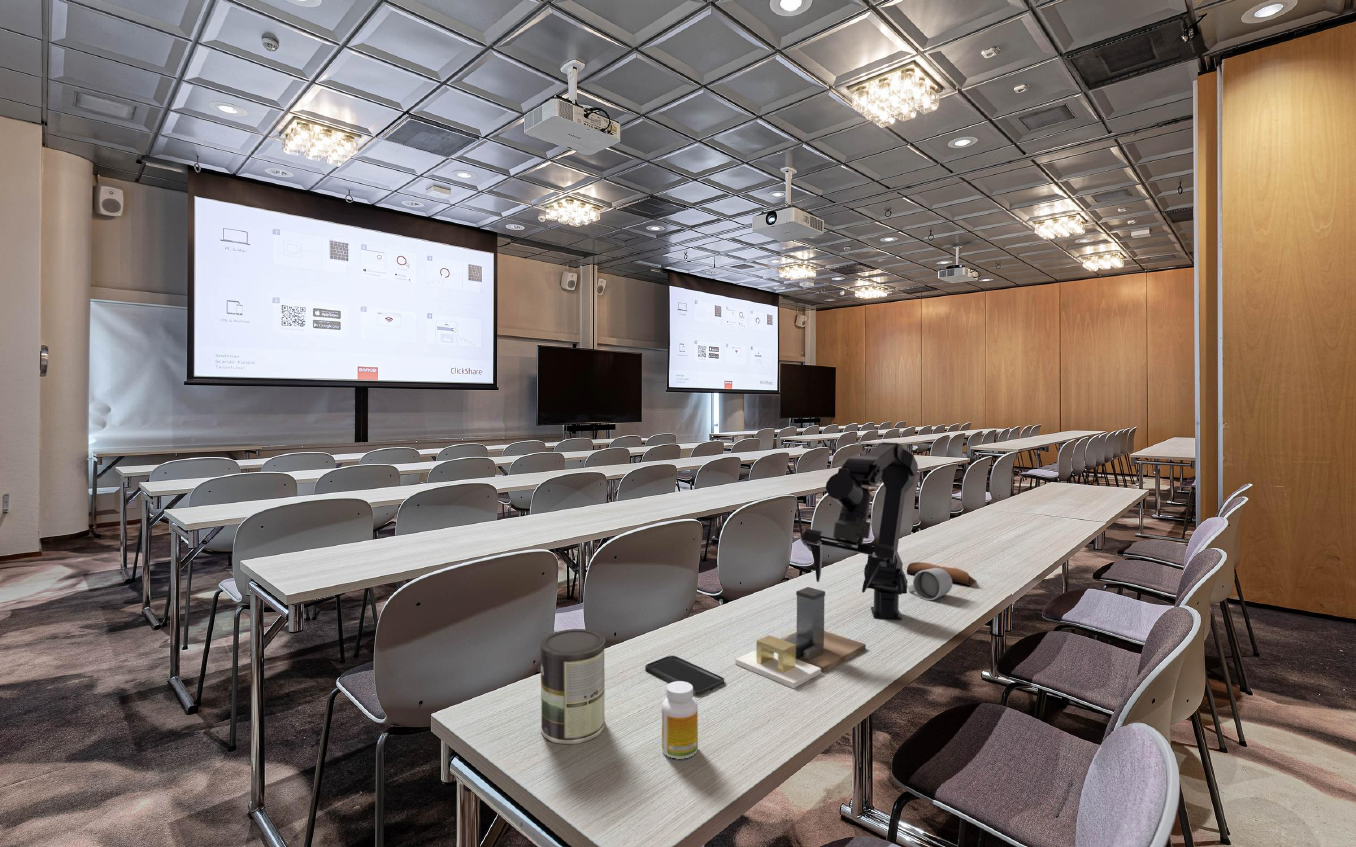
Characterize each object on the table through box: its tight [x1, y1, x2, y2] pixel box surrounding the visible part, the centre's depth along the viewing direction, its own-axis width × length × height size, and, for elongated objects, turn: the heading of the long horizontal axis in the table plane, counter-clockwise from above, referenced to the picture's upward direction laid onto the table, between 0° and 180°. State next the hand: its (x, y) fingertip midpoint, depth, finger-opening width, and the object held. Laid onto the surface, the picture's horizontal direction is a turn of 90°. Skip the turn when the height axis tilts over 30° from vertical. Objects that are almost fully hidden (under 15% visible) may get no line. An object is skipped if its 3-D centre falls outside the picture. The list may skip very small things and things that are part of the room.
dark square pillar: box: [786, 586, 826, 658], centre depth 125 cm, size 10×4×12 cm, turn 134°
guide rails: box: [784, 635, 823, 661], centre depth 125 cm, size 5×7×2 cm
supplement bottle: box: [661, 681, 699, 760], centre depth 92 cm, size 5×5×10 cm
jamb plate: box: [734, 649, 822, 689], centre depth 120 cm, size 9×14×1 cm, turn 44°
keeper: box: [755, 634, 796, 673], centre depth 119 cm, size 4×6×4 cm, turn 43°
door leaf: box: [781, 630, 867, 673], centre depth 129 cm, size 16×14×1 cm
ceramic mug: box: [907, 568, 953, 601], centre depth 164 cm, size 11×8×8 cm
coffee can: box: [539, 628, 606, 745], centre depth 99 cm, size 10×10×14 cm
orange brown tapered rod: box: [906, 561, 977, 587], centre depth 180 cm, size 18×7×7 cm
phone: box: [644, 655, 725, 697], centre depth 117 cm, size 8×1×15 cm
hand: (840, 586), depth 126 cm, fingers open, 9 cm apart
